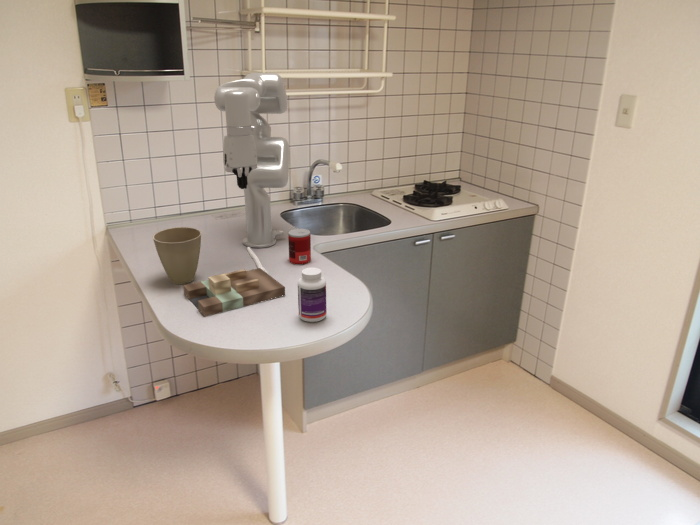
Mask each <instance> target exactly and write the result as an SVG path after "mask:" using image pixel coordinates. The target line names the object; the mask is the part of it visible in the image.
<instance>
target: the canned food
mask: <svg viewBox="0 0 700 525" xmlns="http://www.w3.org/2000/svg"><path fill="white" fill-rule="evenodd" d="M287 238H288V239H287V240H288V241H287V242H288V260H289V263H291V264H293V265H295V264H303V265H306V264H305V263H307V264H309V263H310V262H311V259H312V252H311V251H312V246H311V245H312V244H311V241H312V240H311V239H312V238H311V231H310V230H309V229H307V228H293V229H290V230H289V231H288V234H287ZM308 262H309V263H308Z"/></svg>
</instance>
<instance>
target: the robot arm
mask: <svg viewBox="0 0 700 525" xmlns="http://www.w3.org/2000/svg"><path fill="white" fill-rule="evenodd" d="M213 101H214V104H215V107H216V108H217V109H218V110H219V111H221V112H225V122H226V123H225V125H226V135H224V138H223V147H222V148H223V151H222V152H223V154H222V158H223V160H222V162H223V165H224V166H225V167H224V170H225V172H227V173H233V174H234V175H235V177H236V183H237V184H236V186H238V188H239V189H241V190H243V194H244V196H243V197H244V209H245V222H246V237H245V238H244V239H243V242H242V243H243V245H244V246H246V247H250V248H251V249H252V248H254V249H262V248H263V249H264V248H269V247H271V246H274V245H276V242H277V239H276V237H277V236H283V235H284V230H283V229H280V230H278V229H272V211H271V209H272V208H271V205H272V204H271V197H270V195H269V193H268V192H267V191H266V190H265V189H280V188H284V187H286V186H287V184H288V182H289V170H290V169H289V168H290V145H289V141H288V140H287V139H286V138H284V137H281V136H272V134H271V132H272V127H271V125H270V123H269V122H268V121H267V120H266V119H265V118H264V116H262V115H261V114H265V115H266V114H267V115H270V114H271V115H273V114H276V115H277V114H279V115H281V114H284V113H285V112H286V111H287V109H288V106H289V105H288V96H287V91H286V87H285V83H284V80H283V78H282V76H281V75H280V74H279V73H276V72H251V73H248V74H246V75H245V76H244V77H243V78H242V79H237V80H233V81H232V80H231V81H229V82H224V83H222V84H220V85H219V86H218V87H217V88H216V90H215V92H214V100H213Z"/></svg>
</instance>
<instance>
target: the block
mask: <svg viewBox="0 0 700 525" xmlns="http://www.w3.org/2000/svg"><path fill="white" fill-rule="evenodd" d="M207 280H209V289H210V290H211V291H212V292H213V293H214V294H215V295H217V294H221V293H226V292H230V291H231V282H230V278H228V277H227V276H226V275H225V273H221V274H217V275H211V276H207Z"/></svg>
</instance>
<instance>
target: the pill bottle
mask: <svg viewBox="0 0 700 525" xmlns="http://www.w3.org/2000/svg"><path fill="white" fill-rule="evenodd" d="M297 297H298V298H297V301H298V302H297V303H298V305H297V306H298V316H299V318H300V320H302V321H304V322H308V323H309V322H310V323H315V322H316V323H317V322H320V321H322V320H324V319H325V318H326V317H327V281H326V279H325V277H323V276H322V269H320V268H318V267H306V268H304V269H302V270H301V277H300V278H299V279H298V280H297Z"/></svg>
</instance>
